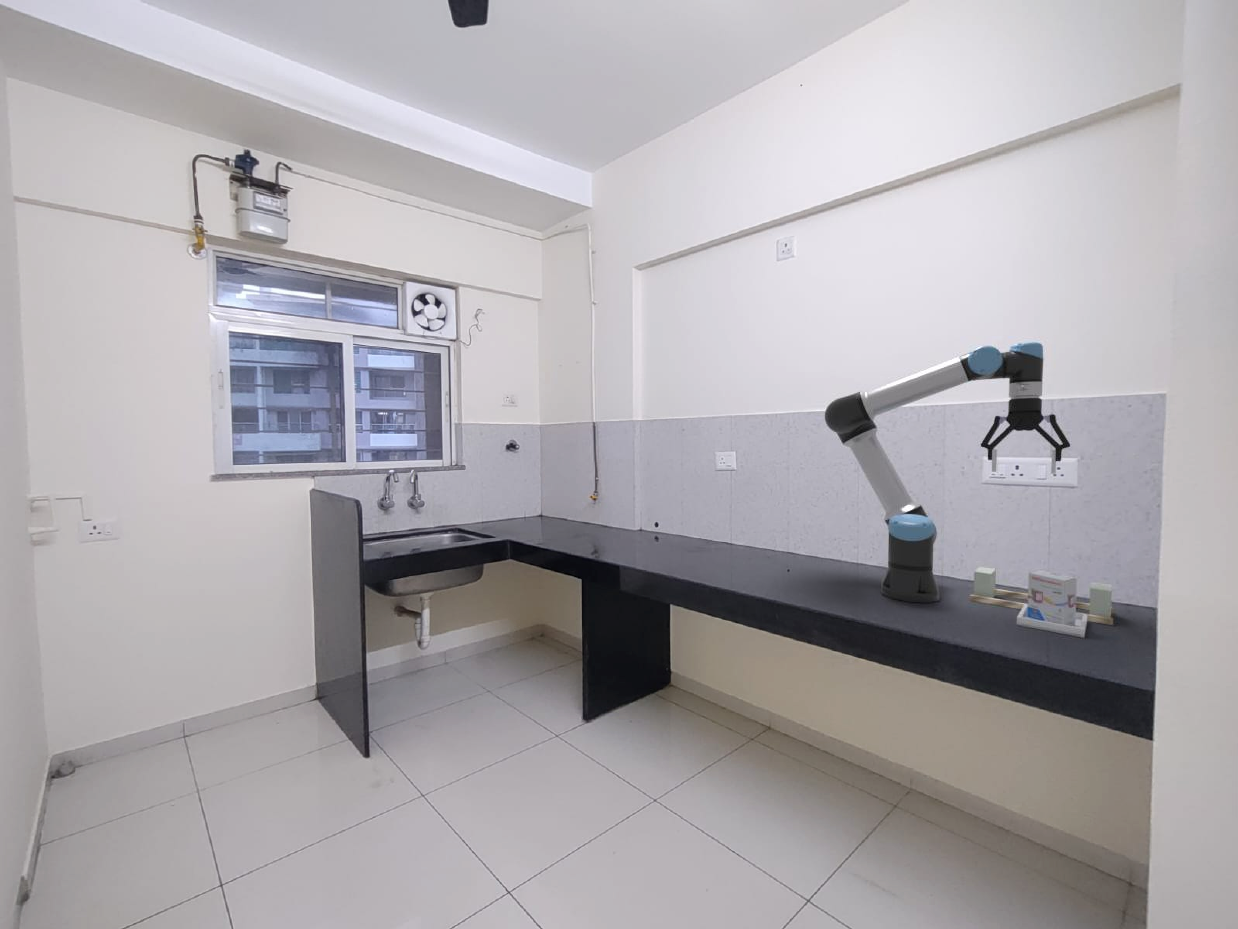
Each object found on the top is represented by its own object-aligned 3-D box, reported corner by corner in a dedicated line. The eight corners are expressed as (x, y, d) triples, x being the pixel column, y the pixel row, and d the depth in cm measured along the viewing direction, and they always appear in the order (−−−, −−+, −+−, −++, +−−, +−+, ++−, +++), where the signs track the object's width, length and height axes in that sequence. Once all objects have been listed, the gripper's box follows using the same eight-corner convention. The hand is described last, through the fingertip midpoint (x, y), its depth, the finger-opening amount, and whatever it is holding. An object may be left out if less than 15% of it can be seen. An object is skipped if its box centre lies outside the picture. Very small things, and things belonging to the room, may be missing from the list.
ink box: (1025, 616, 135) (1027, 571, 135) (1038, 614, 137) (1039, 569, 136) (1063, 627, 127) (1065, 579, 127) (1076, 625, 129) (1078, 577, 128)
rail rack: (969, 600, 151) (969, 595, 151) (978, 591, 160) (978, 586, 160) (1112, 625, 130) (1113, 619, 130) (1113, 613, 140) (1113, 607, 140)
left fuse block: (973, 598, 153) (974, 571, 152) (979, 593, 158) (979, 566, 158) (990, 601, 150) (991, 574, 149) (995, 595, 156) (995, 569, 155)
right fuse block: (1088, 618, 135) (1090, 588, 135) (1090, 611, 141) (1091, 582, 141) (1110, 622, 132) (1111, 591, 132) (1110, 614, 138) (1111, 584, 138)
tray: (1016, 624, 131) (1016, 617, 131) (1024, 611, 141) (1024, 603, 141) (1084, 637, 122) (1084, 629, 122) (1087, 622, 133) (1087, 614, 133)
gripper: (970, 399, 156) (968, 471, 157) (1082, 394, 139) (1079, 474, 140) (975, 401, 161) (973, 470, 162) (1084, 396, 144) (1081, 473, 145)
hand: (1022, 472), depth 151 cm, fingers open, 13 cm apart
